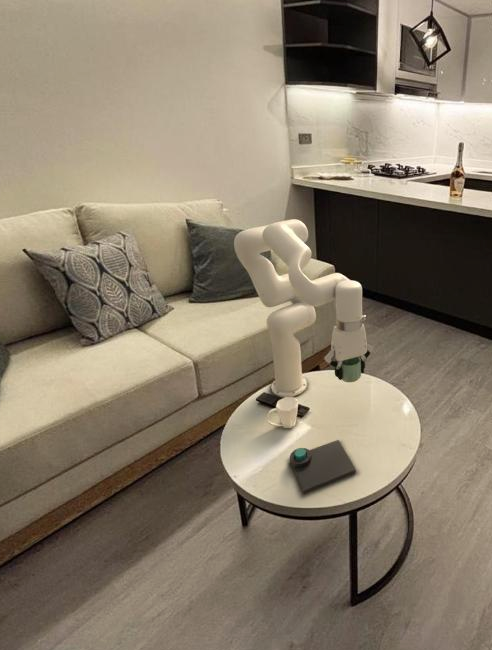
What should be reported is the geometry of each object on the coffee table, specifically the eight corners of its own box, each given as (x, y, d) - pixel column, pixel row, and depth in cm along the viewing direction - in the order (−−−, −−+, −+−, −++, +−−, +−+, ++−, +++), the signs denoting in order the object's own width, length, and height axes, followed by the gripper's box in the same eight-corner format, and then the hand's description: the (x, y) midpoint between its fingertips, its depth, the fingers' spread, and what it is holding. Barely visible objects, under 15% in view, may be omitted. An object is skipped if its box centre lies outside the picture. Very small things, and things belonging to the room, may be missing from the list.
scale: (288, 460, 118) (287, 452, 117) (338, 442, 125) (337, 434, 124) (302, 495, 107) (301, 486, 106) (355, 473, 115) (355, 465, 113)
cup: (302, 427, 130) (300, 407, 127) (270, 436, 126) (267, 415, 123) (297, 414, 136) (296, 394, 133) (266, 422, 132) (264, 401, 129)
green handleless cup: (336, 374, 126) (335, 357, 124) (355, 368, 130) (355, 352, 127) (344, 385, 121) (344, 368, 119) (364, 379, 124) (364, 362, 122)
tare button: (293, 454, 116) (293, 450, 116) (304, 451, 118) (303, 447, 117) (297, 462, 114) (296, 457, 114) (307, 458, 116) (307, 454, 115)
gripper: (370, 311, 125) (369, 361, 132) (316, 323, 117) (318, 375, 124) (381, 321, 120) (380, 372, 126) (325, 334, 111) (328, 389, 118)
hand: (350, 373), depth 125 cm, fingers closed on green handleless cup, 6 cm apart
